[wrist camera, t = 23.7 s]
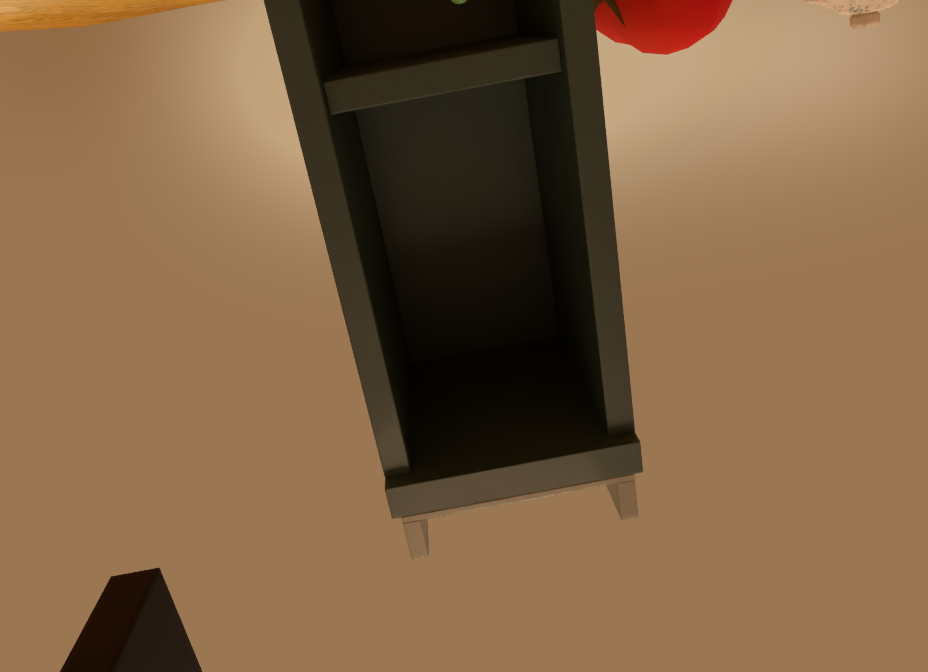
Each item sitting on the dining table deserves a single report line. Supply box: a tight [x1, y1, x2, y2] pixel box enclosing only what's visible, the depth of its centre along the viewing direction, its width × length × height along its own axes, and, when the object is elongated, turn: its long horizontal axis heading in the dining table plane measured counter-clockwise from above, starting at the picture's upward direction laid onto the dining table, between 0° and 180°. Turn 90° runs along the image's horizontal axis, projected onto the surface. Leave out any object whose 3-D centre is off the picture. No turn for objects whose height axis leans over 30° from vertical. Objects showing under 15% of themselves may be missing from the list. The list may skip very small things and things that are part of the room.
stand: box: [264, 0, 643, 559], centre depth 44 cm, size 18×14×33 cm
